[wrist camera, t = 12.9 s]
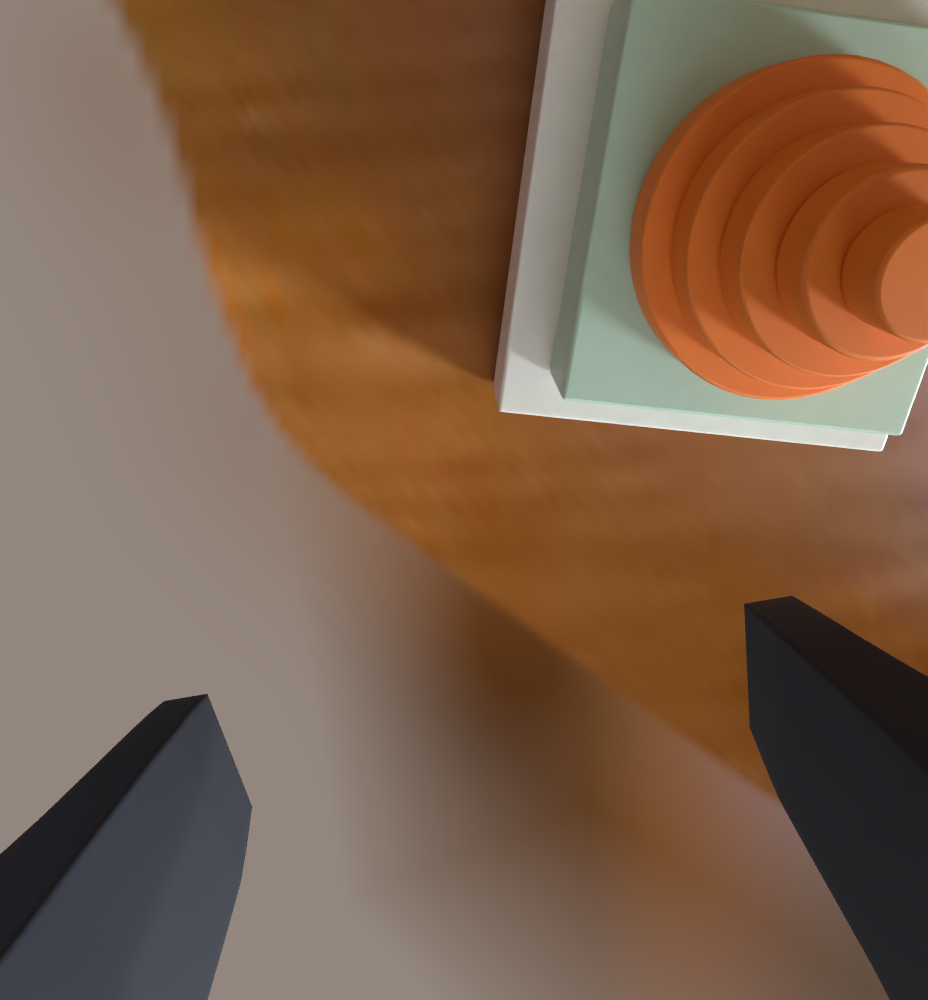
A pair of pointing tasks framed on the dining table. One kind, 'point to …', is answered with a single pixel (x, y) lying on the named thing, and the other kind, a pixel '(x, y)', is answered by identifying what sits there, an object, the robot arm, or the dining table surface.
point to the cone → (790, 228)
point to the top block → (621, 173)
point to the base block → (551, 217)
